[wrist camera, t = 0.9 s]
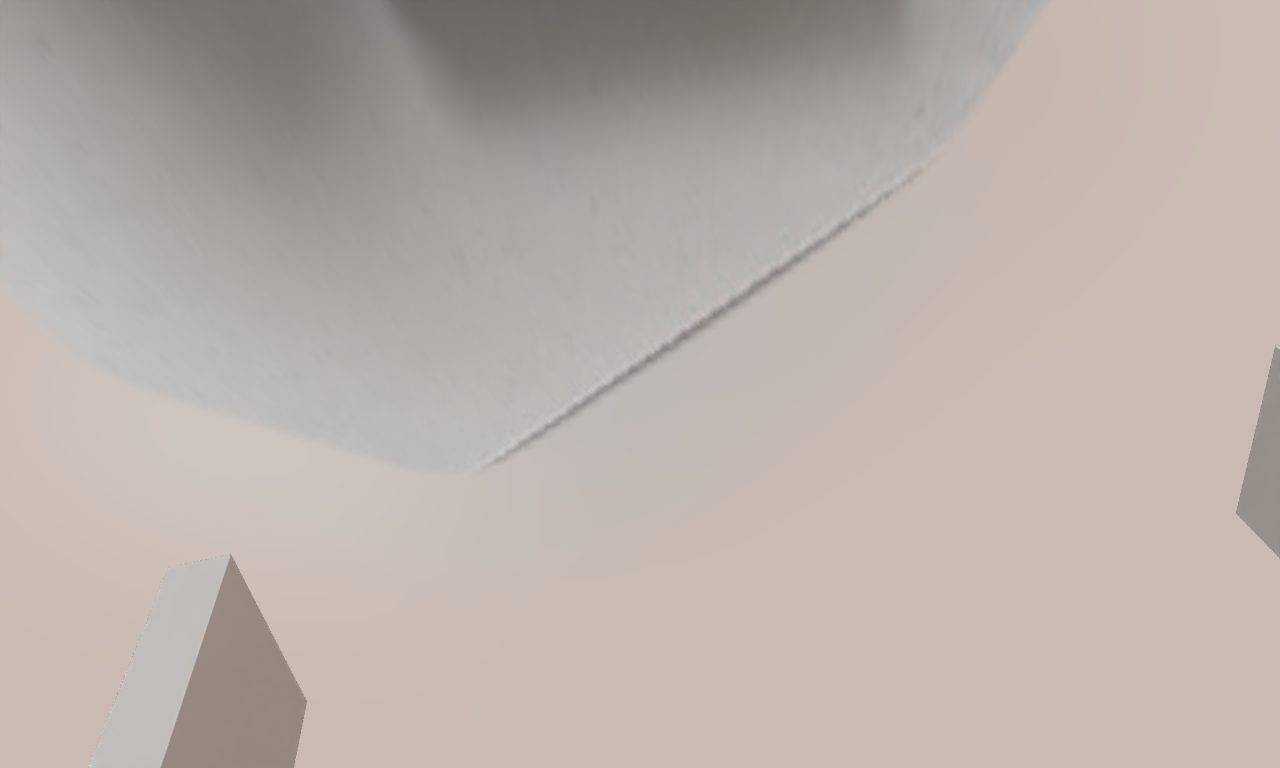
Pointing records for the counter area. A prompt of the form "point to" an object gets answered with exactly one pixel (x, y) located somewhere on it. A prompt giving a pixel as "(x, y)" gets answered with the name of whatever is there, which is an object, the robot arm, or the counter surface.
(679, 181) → the counter surface
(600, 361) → the counter surface
